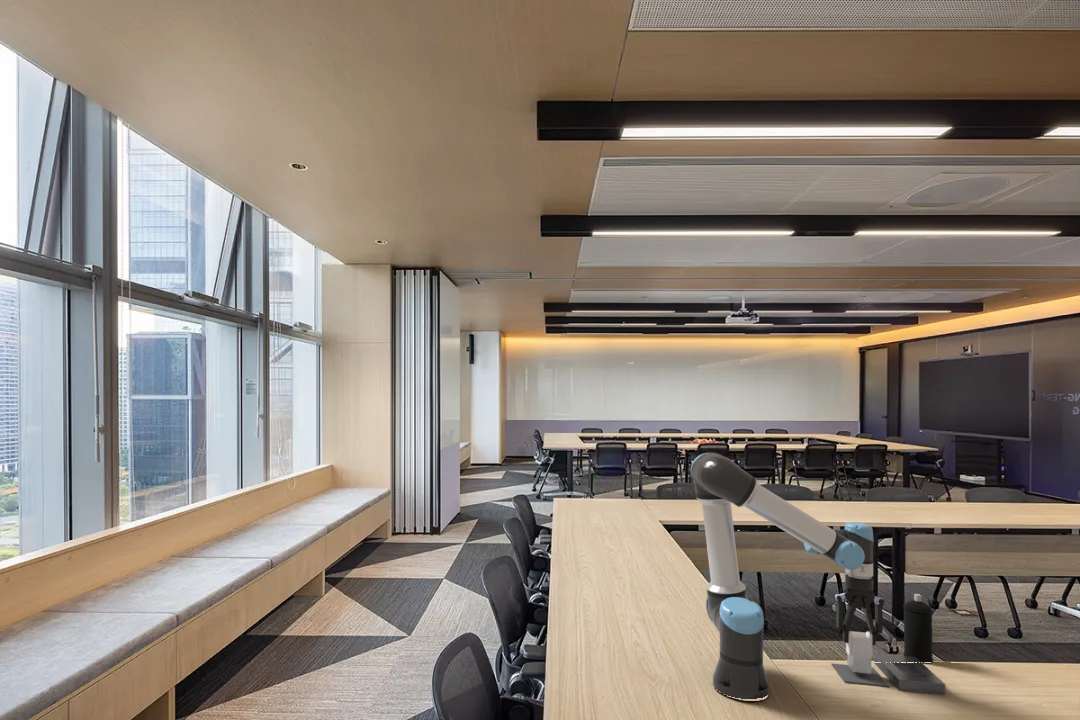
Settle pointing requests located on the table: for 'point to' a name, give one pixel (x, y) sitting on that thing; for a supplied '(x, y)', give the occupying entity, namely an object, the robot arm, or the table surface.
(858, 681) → the rubber pad
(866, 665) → the rectangular peg block
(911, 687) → the square hole plate
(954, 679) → the table surface
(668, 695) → the table surface
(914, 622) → the aerosol can
